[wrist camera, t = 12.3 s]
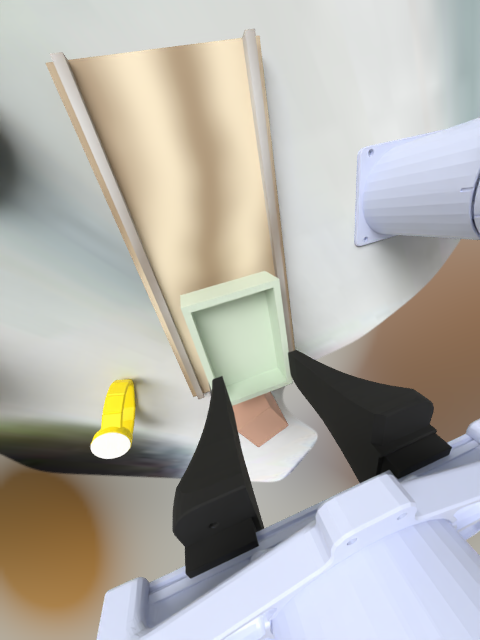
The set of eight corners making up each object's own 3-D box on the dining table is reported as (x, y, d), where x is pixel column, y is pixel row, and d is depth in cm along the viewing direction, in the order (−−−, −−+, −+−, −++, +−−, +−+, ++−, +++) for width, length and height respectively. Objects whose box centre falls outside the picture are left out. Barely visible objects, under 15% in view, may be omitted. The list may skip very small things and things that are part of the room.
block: (253, 374, 25) (270, 406, 21) (270, 392, 27) (288, 425, 22) (226, 394, 25) (237, 431, 21) (245, 410, 27) (258, 447, 23)
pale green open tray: (259, 267, 19) (279, 278, 15) (274, 357, 23) (292, 383, 19) (180, 290, 18) (180, 308, 14) (212, 379, 22) (219, 410, 18)
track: (254, 47, 14) (272, 6, 11) (291, 355, 25) (305, 370, 22) (55, 74, 12) (20, 33, 9) (192, 390, 23) (194, 411, 21)
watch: (143, 413, 23) (134, 469, 18) (115, 416, 22) (96, 476, 17) (140, 367, 21) (128, 416, 16) (108, 369, 20) (83, 421, 15)
